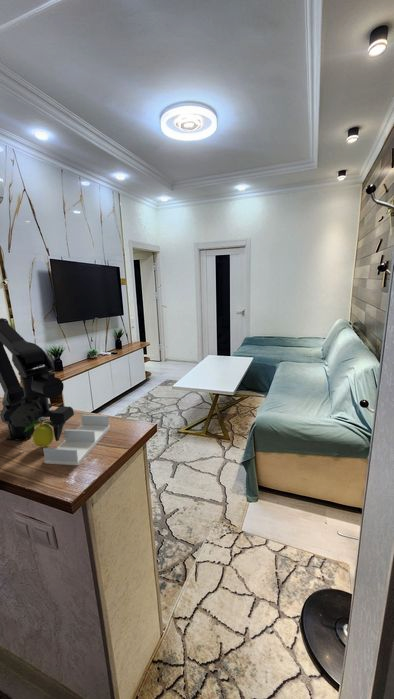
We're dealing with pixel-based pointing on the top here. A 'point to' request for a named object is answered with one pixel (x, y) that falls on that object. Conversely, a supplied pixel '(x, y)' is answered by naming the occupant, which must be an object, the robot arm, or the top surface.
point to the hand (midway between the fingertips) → (43, 439)
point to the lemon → (42, 433)
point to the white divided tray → (78, 441)
